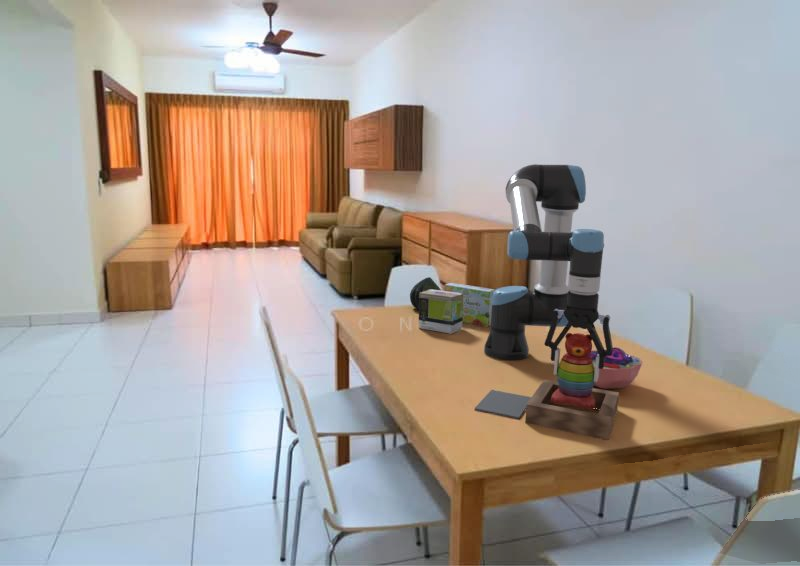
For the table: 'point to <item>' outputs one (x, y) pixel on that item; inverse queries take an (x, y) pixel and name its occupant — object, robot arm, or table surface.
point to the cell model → (617, 369)
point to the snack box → (474, 303)
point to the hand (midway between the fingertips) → (575, 376)
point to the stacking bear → (576, 373)
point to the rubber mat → (503, 404)
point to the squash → (421, 290)
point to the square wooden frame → (572, 412)
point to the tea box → (441, 311)
